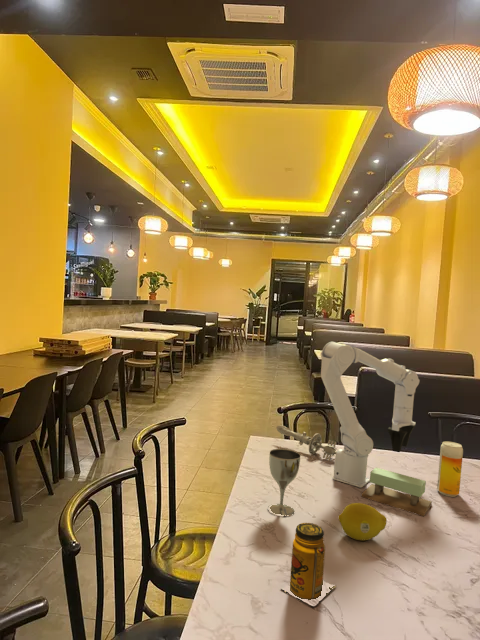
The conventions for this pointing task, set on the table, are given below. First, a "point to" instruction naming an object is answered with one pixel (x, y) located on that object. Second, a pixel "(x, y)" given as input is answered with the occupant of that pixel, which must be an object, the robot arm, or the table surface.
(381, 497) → the peg base
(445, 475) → the beer can
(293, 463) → the wine glass
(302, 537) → the condiment
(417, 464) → the table surface
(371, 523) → the lemon
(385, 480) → the shelf board
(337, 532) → the table surface
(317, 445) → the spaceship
